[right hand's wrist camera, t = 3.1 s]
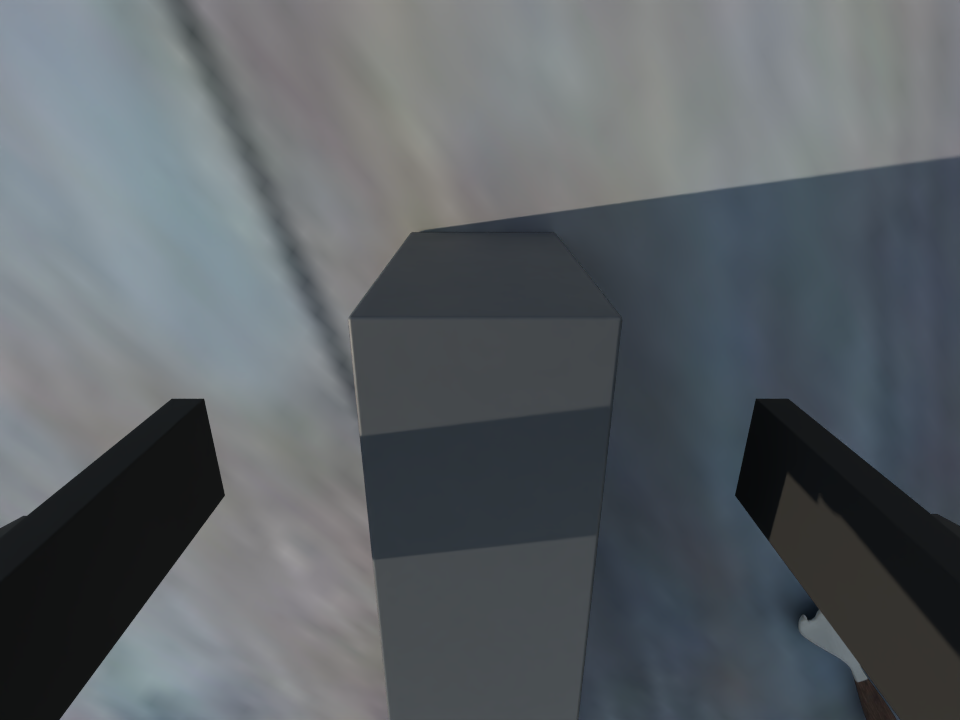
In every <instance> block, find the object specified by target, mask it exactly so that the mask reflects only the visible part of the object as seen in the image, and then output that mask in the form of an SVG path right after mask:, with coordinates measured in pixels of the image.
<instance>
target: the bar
mask: <svg viewBox="0 0 960 720" xmlns="http://www.w3.org/2000/svg"><path fill="white" fill-rule="evenodd" d="M348 325H349V335H350V345H351V354H352V364H353V374H354V384H355V394H356V403H357V413H358V423H359V433H360V443H361V452H362V462H363V472H364V482H365V492H366V501H367V511H368V521H369V531H370V541H371V551H372V560H373V570H374V580H375V590H376V600H377V609H378V619H379V629H380V639H381V649H382V658H383V668H384V678H385V688H386V698H387V707H388V717H389V720H578V717H579V708H580V699H581V690H582V681H583V672H584V663H585V654H586V644H587V635H588V626H589V617H590V608H591V599H592V590H593V581H594V572H595V562H596V553H597V544H598V535H599V526H600V517H601V508H602V499H603V490H604V480H605V471H606V462H607V453H608V444H609V435H610V426H611V417H612V407H613V398H614V389H615V380H616V371H617V362H618V353H619V344H620V335H621V325H622V318H621V316H620V315H619V314H618V312H617V311H616V310H615V309H614V307H613V306H612V305H611V303H610V302H609V301H608V300H607V298H606V297H605V296H604V295H603V293H602V292H601V291H600V290H599V288H598V287H597V286H596V284H595V283H594V282H593V281H592V279H591V278H590V277H589V276H588V274H587V273H586V272H585V271H584V269H583V268H582V267H581V265H580V264H579V263H578V262H577V260H576V259H575V258H574V257H573V255H572V254H571V253H570V252H569V250H568V249H567V248H566V246H565V245H564V244H563V243H562V241H561V240H560V239H559V238H558V236H557V235H556V234H555V233H554V232H412V233H410V235H409V236H408V237H407V239H406V240H405V242H404V243H403V244H402V246H401V247H400V248H399V250H398V251H397V252H396V254H395V255H394V256H393V258H392V259H391V261H390V262H389V263H388V265H387V266H386V267H385V269H384V270H383V271H382V273H381V274H380V275H379V277H378V278H377V280H376V281H375V282H374V284H373V285H372V286H371V288H370V289H369V290H368V292H367V293H366V294H365V296H364V297H363V299H362V300H361V301H360V303H359V304H358V305H357V307H356V308H355V309H354V311H353V312H352V313H351V315H350V316H349V318H348Z"/></svg>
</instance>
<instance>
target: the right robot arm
mask: <svg viewBox="0 0 960 720" xmlns="http://www.w3.org/2000/svg"><path fill="white" fill-rule="evenodd" d="M224 496H225V494H224V489H223V485H222V480H221V475H220V471H219V466H218V461H217V457H216V452H215V447H214V443H213V438H212V433H211V429H210V424H209V420H208V415H207V410H206V406H205V401H204V399H171V400H170V401H169V402H167V403H166V404H165V405H164V406H162V407H161V408H160V409H159V410H157V411H156V412H155V413H154V414H152V415H151V416H150V417H149V418H148V419H146V420H145V421H144V422H143V423H141V424H140V425H139V426H138V427H136V428H135V429H134V430H133V431H131V432H130V433H129V434H128V435H127V436H125V437H124V438H123V439H122V440H120V441H119V442H118V443H117V444H115V445H114V446H113V447H112V448H110V449H109V450H108V451H107V452H105V453H104V454H103V455H102V456H101V457H99V458H98V459H97V460H96V461H94V462H93V463H92V464H91V465H89V466H88V467H87V468H86V469H84V470H83V471H82V472H81V473H80V474H78V475H77V476H76V477H75V478H73V479H72V480H71V481H70V482H68V483H67V484H66V485H65V486H63V487H62V488H61V489H60V490H58V491H57V492H56V493H55V494H54V495H52V496H51V497H50V498H49V499H47V500H46V501H45V502H44V503H42V504H41V505H40V506H39V507H37V508H36V509H35V510H34V511H33V512H31V513H30V514H29V515H28V516H22V517H20V518H19V519H17V520H15V521H13V522H11V523H9V524H7V525H6V526H4V527H2V528H0V720H60V718H61V717H62V716H63V714H64V713H65V711H66V710H67V709H68V707H69V706H70V705H71V703H72V702H73V701H74V699H75V698H76V697H77V695H78V694H79V692H80V691H81V690H82V688H83V687H84V686H85V684H86V683H87V682H88V680H89V679H90V678H91V676H92V675H93V673H94V672H95V671H96V669H97V668H98V667H99V665H100V664H101V663H102V661H103V660H104V659H105V657H106V656H107V655H108V653H109V652H110V650H111V649H112V648H113V646H114V645H115V644H116V642H117V641H118V640H119V638H120V637H121V636H122V634H123V633H124V631H125V630H126V629H127V627H128V626H129V625H130V623H131V622H132V621H133V619H134V618H135V617H136V615H137V614H138V613H139V611H140V610H141V608H142V607H143V606H144V604H145V603H146V602H147V600H148V599H149V598H150V596H151V595H152V594H153V592H154V591H155V589H156V588H157V587H158V585H159V584H160V583H161V581H162V580H163V579H164V577H165V576H166V575H167V573H168V572H169V570H170V569H171V568H172V566H173V565H174V564H175V562H176V561H177V560H178V558H179V557H180V556H181V554H182V553H183V552H184V550H185V549H186V547H187V546H188V545H189V543H190V542H191V541H192V539H193V538H194V537H195V535H196V534H197V533H198V531H199V530H200V528H201V527H202V526H203V524H204V523H205V522H206V520H207V519H208V518H209V516H210V515H211V514H212V512H213V511H214V509H215V508H216V507H217V505H218V504H219V503H220V501H221V500H222V499H223V497H224ZM735 496H736V497H737V499H738V500H739V501H740V503H741V504H742V505H743V507H744V508H745V509H746V511H747V512H748V514H749V515H750V516H751V518H752V519H753V520H754V522H755V523H756V524H757V526H758V527H759V528H760V530H761V531H762V533H763V534H764V535H765V537H766V538H767V539H768V541H769V542H770V543H771V545H772V546H773V547H774V549H775V550H776V552H777V553H778V554H779V556H780V557H781V558H782V560H783V561H784V562H785V564H786V565H787V566H788V568H789V569H790V570H791V572H792V573H793V575H794V576H795V577H796V579H797V580H798V581H799V583H800V584H801V585H802V587H803V588H804V589H805V591H806V592H807V594H808V595H809V596H810V598H811V599H812V600H813V602H814V603H815V604H816V606H817V607H818V608H819V610H820V611H821V613H822V614H823V615H824V617H825V618H826V619H827V621H828V622H829V623H830V625H831V626H832V627H833V629H834V630H835V631H836V633H837V634H838V636H839V637H840V638H841V640H842V641H843V642H844V644H845V645H846V646H847V648H848V649H849V650H850V652H851V653H852V655H853V656H854V657H855V659H856V660H857V661H858V663H859V664H860V665H861V667H862V668H863V669H864V671H865V672H866V674H867V675H868V676H869V678H870V679H871V680H872V682H873V683H874V684H875V686H876V687H877V688H878V690H879V691H880V692H881V694H882V695H883V697H884V698H885V699H886V701H887V702H888V703H889V705H890V706H891V707H892V709H893V710H894V711H895V713H896V714H897V716H898V717H899V718H900V720H960V526H959V525H957V524H955V523H953V522H951V521H949V520H947V519H946V518H944V517H942V516H940V515H938V514H930V513H929V512H927V511H926V510H925V509H924V508H923V507H921V506H920V505H919V504H918V503H916V502H915V501H914V500H913V499H911V498H910V497H909V496H908V495H906V494H905V493H904V492H903V491H902V490H900V489H899V488H898V487H897V486H895V485H894V484H893V483H892V482H890V481H889V480H888V479H887V478H885V477H884V476H883V475H882V474H880V473H879V472H878V471H877V470H876V469H874V468H873V467H872V466H871V465H869V464H868V463H867V462H866V461H864V460H863V459H862V458H861V457H859V456H858V455H857V454H856V453H855V452H853V451H852V450H851V449H850V448H848V447H847V446H846V445H845V444H843V443H842V442H841V441H840V440H838V439H837V438H836V437H835V436H833V435H832V434H831V433H830V432H829V431H827V430H826V429H825V428H824V427H822V426H821V425H820V424H819V423H817V422H816V421H815V420H814V419H812V418H811V417H810V416H809V415H808V414H806V413H805V412H804V411H803V410H801V409H800V408H799V407H798V406H796V405H795V404H794V403H793V402H791V401H790V400H789V399H756V401H755V406H754V410H753V415H752V420H751V424H750V429H749V433H748V438H747V443H746V447H745V452H744V457H743V461H742V466H741V471H740V475H739V480H738V485H737V489H736V494H735Z"/></svg>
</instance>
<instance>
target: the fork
mask: <svg viewBox="0 0 960 720" xmlns="http://www.w3.org/2000/svg"><path fill="white" fill-rule="evenodd" d="M798 628H799V631H800V633H801V634H802V635H803V636H804V637H805V638H806V639H808V640H809V641H810V642H812V643H814V644H815V645H817V646H819V647H820V648H822V649H824V650H826V651H827V652H829V653H831V654H833V655H834V656H836V657H838V658H839V659H841V660H842V661H844V662H845V663H846V664H847V665H848V666H849V667H850V669H851V671H852V674H853V677H854V680H855V684H856V687H857V691H858V695H859V698H860V702H861V705H862V708H863V712H864V714H865V717H866V720H896V718H895V716H894V715H893V713H892V712H891V710H890V709H889V707H888V706H887V704H886V703H885V701H884V700H883V699H882V697H881V696H880V694H879V693H878V692H877V690H876V689H875V687H874V686H873V685H872V683H871V682H870V681H869V679H868V678H867V676H866V675H865V673H864V672H863V670H862V668H861V666H860V664H859V663H858V661H857V660H856V659H855V657H854V656H853V655H852V653H851V652H850V650H849V649H848V648H847V646H846V645H845V644H844V642H843V641H842V640H841V638H840V637H839V636H838V634H837V633H836V631H835V630H834V629H833V627H832V626H831V625H830V623H829V622H828V621H827V619H826V618H825V617H824V615H823V614H822V613H821V611H820V610H818V611H817V613H816V615H815V617H814V618H813V619H811V620H807V617H806V616H805V615H802V616H801V617H800V619H799V624H798Z"/></svg>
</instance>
